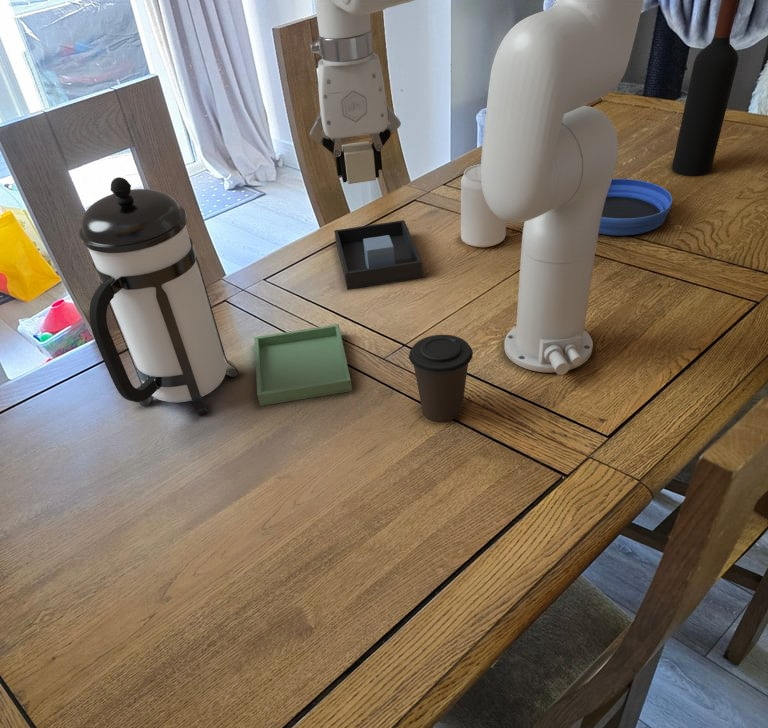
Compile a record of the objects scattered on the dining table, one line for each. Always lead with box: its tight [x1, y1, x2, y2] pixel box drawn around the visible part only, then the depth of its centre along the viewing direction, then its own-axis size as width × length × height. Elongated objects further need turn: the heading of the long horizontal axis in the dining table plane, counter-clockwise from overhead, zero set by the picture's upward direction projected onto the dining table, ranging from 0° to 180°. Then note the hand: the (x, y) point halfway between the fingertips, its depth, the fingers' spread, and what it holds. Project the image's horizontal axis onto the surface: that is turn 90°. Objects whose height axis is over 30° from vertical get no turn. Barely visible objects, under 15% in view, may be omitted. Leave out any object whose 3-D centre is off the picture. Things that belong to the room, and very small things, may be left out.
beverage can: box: [460, 163, 507, 248], centre depth 123 cm, size 8×8×12 cm
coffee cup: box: [408, 334, 474, 423], centre depth 90 cm, size 8×8×10 cm
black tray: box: [334, 219, 424, 290], centre depth 124 cm, size 17×13×3 cm
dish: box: [253, 323, 353, 407], centre depth 103 cm, size 15×13×2 cm
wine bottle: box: [671, 0, 739, 177], centre depth 131 cm, size 8×8×30 cm
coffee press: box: [79, 177, 239, 416], centre depth 90 cm, size 17×16×30 cm
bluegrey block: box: [363, 235, 395, 269], centre depth 121 cm, size 5×5×5 cm
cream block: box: [342, 140, 377, 185], centre depth 113 cm, size 5×5×5 cm
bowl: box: [598, 178, 673, 237], centre depth 128 cm, size 18×18×4 cm
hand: (360, 175), depth 114 cm, fingers closed on cream block, 4 cm apart
